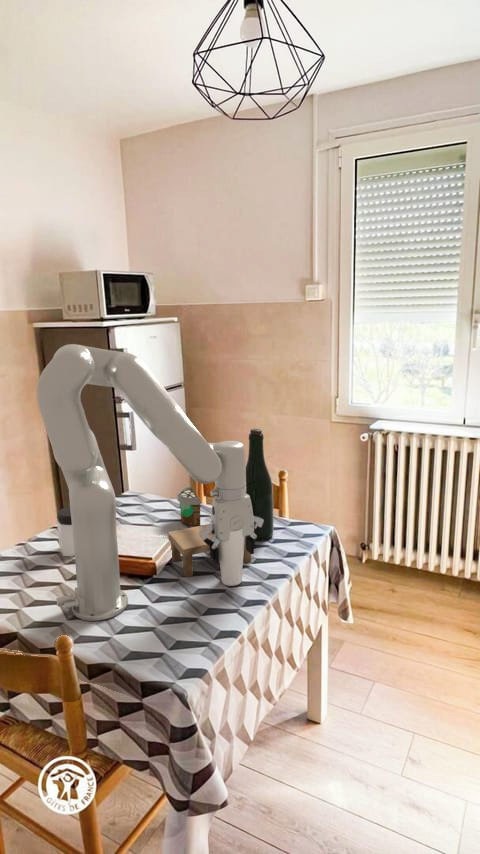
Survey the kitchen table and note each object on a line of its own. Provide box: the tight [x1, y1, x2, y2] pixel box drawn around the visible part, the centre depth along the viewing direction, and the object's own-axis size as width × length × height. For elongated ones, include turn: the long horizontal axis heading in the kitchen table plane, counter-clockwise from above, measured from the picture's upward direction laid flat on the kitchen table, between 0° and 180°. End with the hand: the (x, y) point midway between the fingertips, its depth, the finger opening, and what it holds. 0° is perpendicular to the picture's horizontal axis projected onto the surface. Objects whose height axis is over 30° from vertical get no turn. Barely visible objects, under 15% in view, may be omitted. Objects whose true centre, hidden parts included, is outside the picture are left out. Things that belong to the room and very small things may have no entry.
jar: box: [56, 506, 75, 557], centre depth 150 cm, size 9×8×12 cm
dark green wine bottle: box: [246, 428, 275, 542], centre depth 157 cm, size 10×10×33 cm
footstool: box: [167, 523, 252, 578], centre depth 143 cm, size 20×12×8 cm, turn 117°
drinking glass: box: [218, 529, 245, 587], centre depth 131 cm, size 7×7×15 cm
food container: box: [176, 486, 202, 528], centre depth 169 cm, size 12×6×10 cm, turn 17°
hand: (232, 556), depth 131 cm, fingers open, 9 cm apart
